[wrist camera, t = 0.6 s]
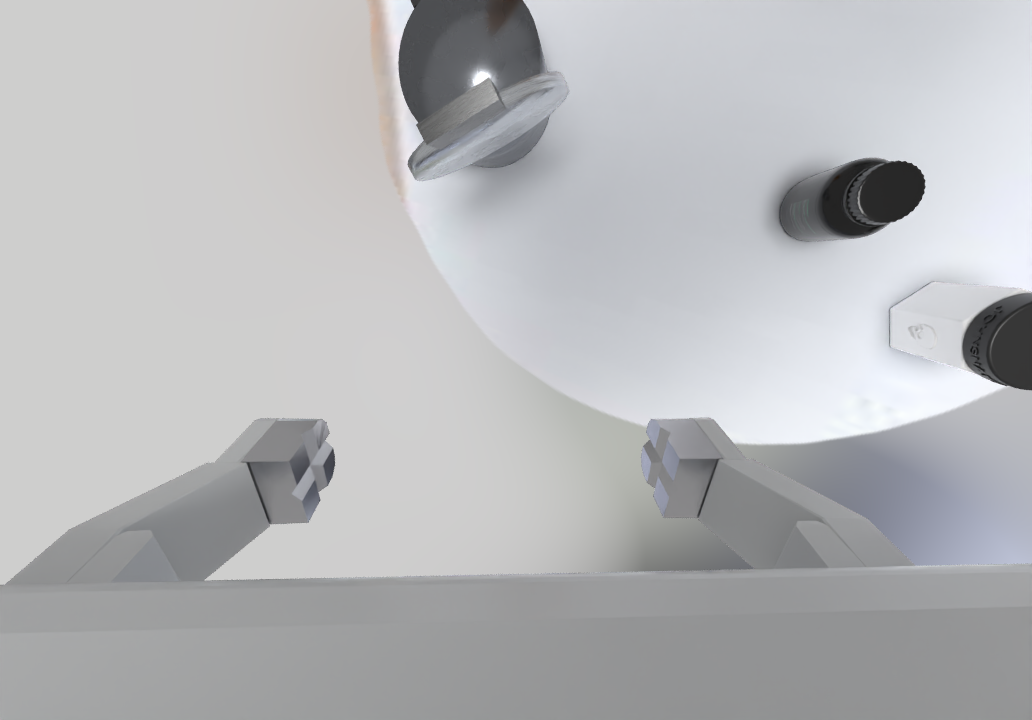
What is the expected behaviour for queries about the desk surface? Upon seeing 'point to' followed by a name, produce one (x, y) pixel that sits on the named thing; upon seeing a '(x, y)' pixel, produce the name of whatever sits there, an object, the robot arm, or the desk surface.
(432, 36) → the pot
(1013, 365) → the jar
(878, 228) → the supplement bottle
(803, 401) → the desk surface
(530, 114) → the lid
